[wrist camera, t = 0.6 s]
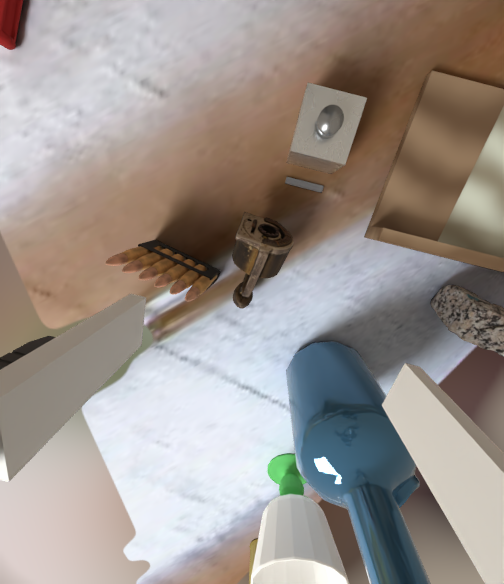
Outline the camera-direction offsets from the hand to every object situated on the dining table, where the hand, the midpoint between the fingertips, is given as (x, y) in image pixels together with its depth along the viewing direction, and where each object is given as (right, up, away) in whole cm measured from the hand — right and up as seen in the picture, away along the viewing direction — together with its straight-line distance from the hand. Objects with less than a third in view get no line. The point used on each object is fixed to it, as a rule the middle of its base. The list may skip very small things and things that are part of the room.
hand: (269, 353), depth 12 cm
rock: (+31, 0, +23) cm, 38 cm away
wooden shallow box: (+28, +16, +18) cm, 37 cm away
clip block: (+7, +22, +18) cm, 29 cm away
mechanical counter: (+1, +8, +23) cm, 24 cm away
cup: (+7, -33, +36) cm, 49 cm away
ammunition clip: (-11, +8, +24) cm, 27 cm away
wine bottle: (+12, -11, +28) cm, 32 cm away
